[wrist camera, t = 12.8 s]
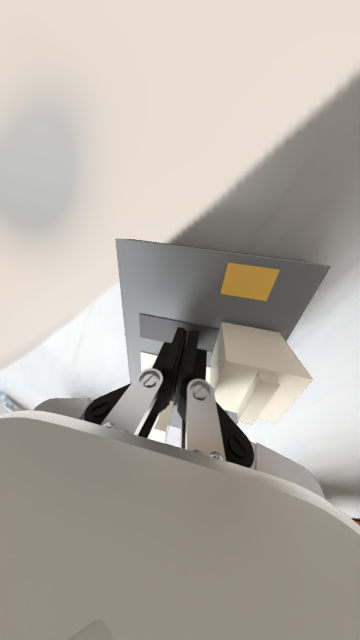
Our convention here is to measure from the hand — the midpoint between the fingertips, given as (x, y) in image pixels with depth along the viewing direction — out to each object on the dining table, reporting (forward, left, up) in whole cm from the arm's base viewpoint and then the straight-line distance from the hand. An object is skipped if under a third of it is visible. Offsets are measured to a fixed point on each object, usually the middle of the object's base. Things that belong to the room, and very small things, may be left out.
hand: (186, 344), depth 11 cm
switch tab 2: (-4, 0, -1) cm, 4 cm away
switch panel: (-1, +5, -3) cm, 6 cm away
